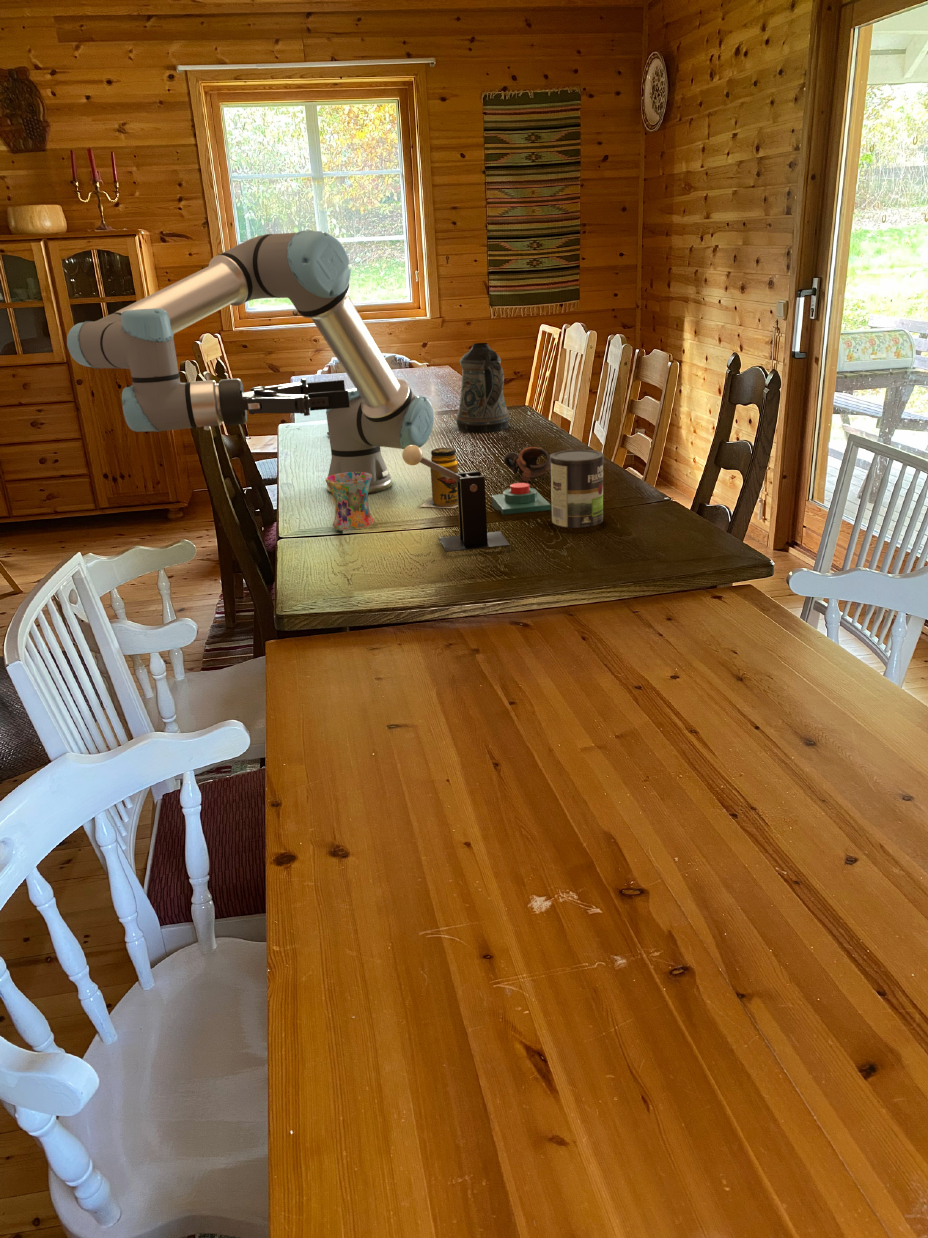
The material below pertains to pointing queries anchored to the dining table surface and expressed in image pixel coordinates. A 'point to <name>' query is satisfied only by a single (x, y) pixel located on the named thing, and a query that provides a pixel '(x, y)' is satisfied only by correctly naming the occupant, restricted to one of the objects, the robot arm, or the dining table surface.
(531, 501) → the button box
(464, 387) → the grey ceramic pitcher
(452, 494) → the condiment
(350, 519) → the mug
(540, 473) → the pottery mug
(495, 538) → the bracket
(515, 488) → the button
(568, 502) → the coffee can
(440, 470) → the lever
